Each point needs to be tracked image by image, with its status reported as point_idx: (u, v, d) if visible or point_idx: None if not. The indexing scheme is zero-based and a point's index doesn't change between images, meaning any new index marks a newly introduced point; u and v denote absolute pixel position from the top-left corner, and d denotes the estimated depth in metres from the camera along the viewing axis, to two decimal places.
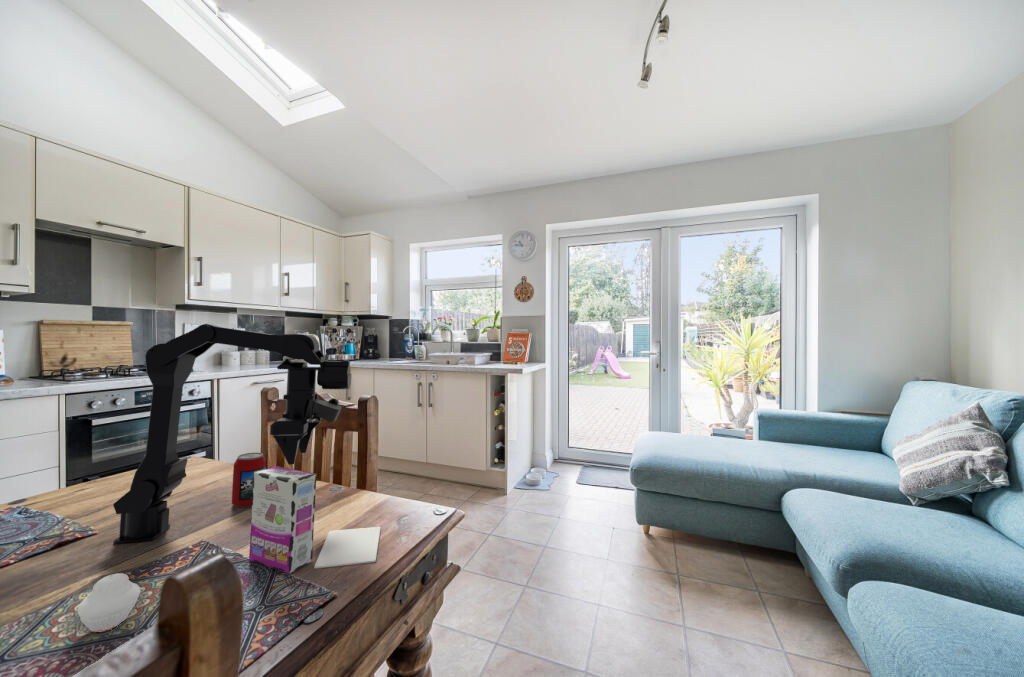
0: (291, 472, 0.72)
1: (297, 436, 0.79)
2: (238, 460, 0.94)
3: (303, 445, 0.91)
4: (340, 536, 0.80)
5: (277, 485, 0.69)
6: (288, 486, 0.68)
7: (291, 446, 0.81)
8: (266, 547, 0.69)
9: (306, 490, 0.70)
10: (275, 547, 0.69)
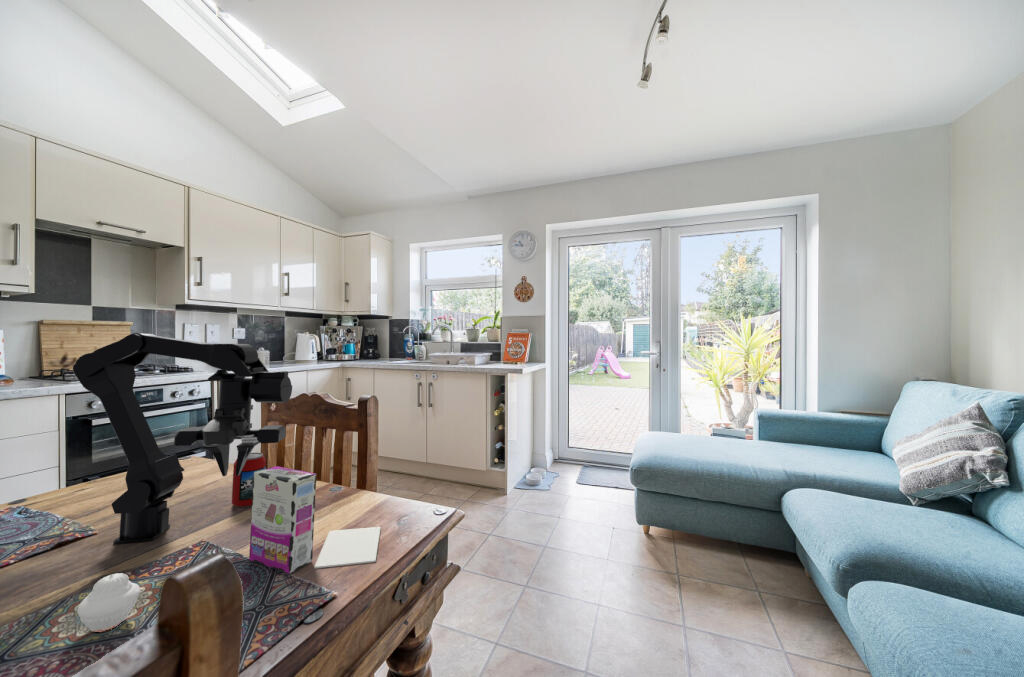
0: (291, 472, 0.72)
1: None
2: None
3: None
4: (340, 536, 0.80)
5: (277, 485, 0.69)
6: (288, 486, 0.68)
7: None
8: (266, 547, 0.69)
9: (306, 490, 0.70)
10: (275, 547, 0.69)
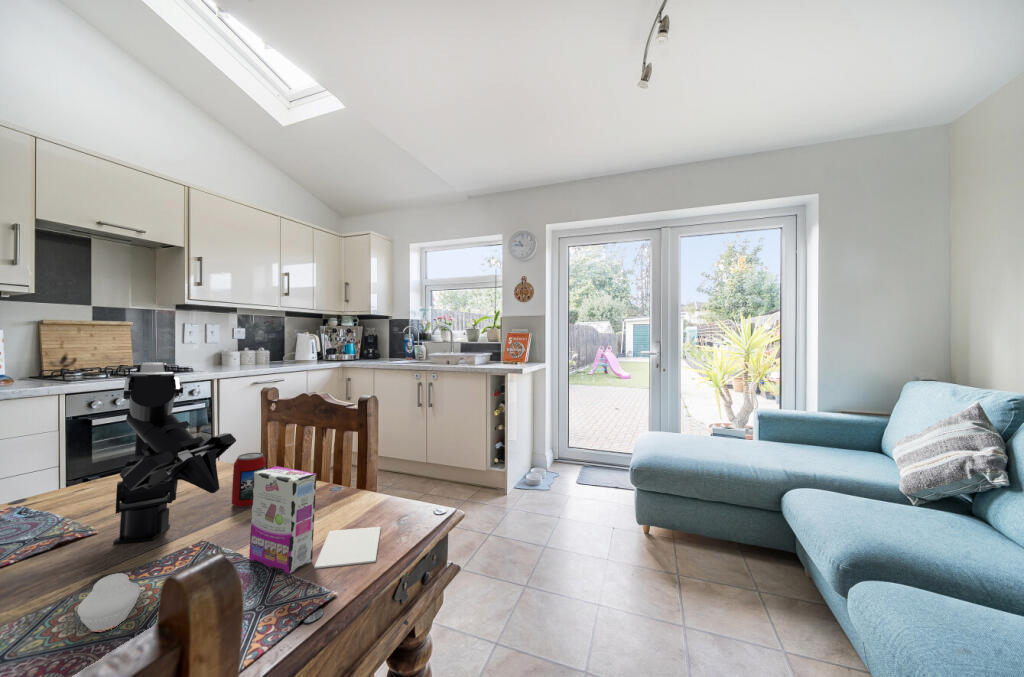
0: (291, 472, 0.72)
1: None
2: (238, 460, 0.94)
3: None
4: (340, 536, 0.80)
5: (277, 485, 0.69)
6: (288, 486, 0.68)
7: None
8: (266, 547, 0.69)
9: (306, 490, 0.70)
10: (275, 547, 0.69)
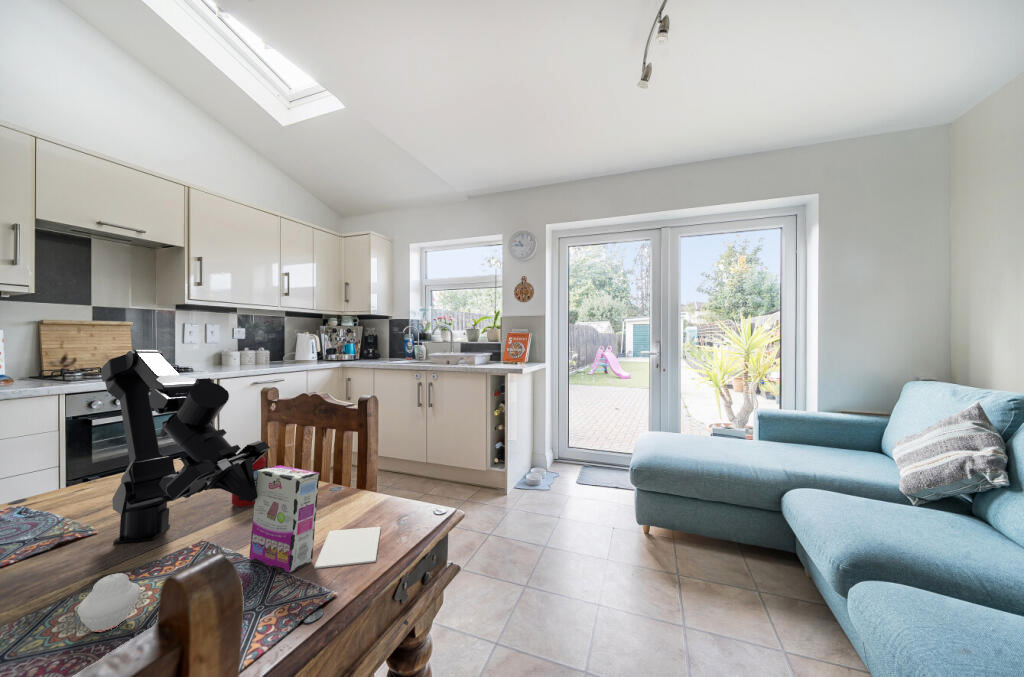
0: (294, 471, 0.72)
1: None
2: None
3: None
4: (340, 536, 0.80)
5: (280, 483, 0.70)
6: (291, 484, 0.69)
7: None
8: (267, 546, 0.69)
9: (309, 488, 0.70)
10: (275, 545, 0.69)
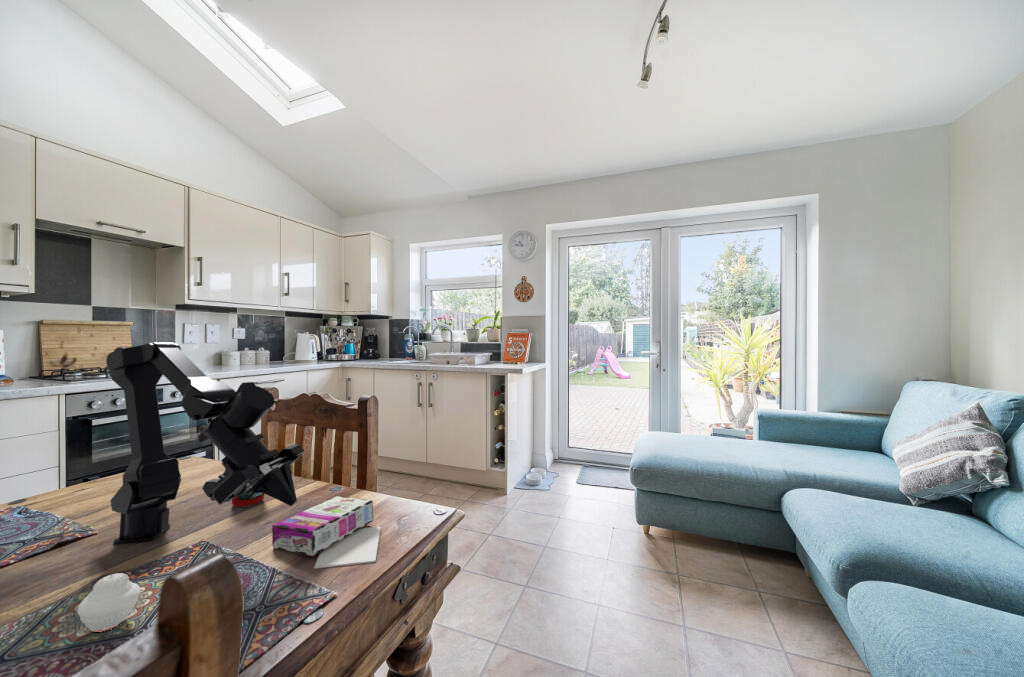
0: None
1: None
2: None
3: None
4: None
5: (354, 500, 0.87)
6: (364, 501, 0.86)
7: None
8: (303, 520, 0.77)
9: (365, 515, 0.84)
10: (313, 520, 0.77)
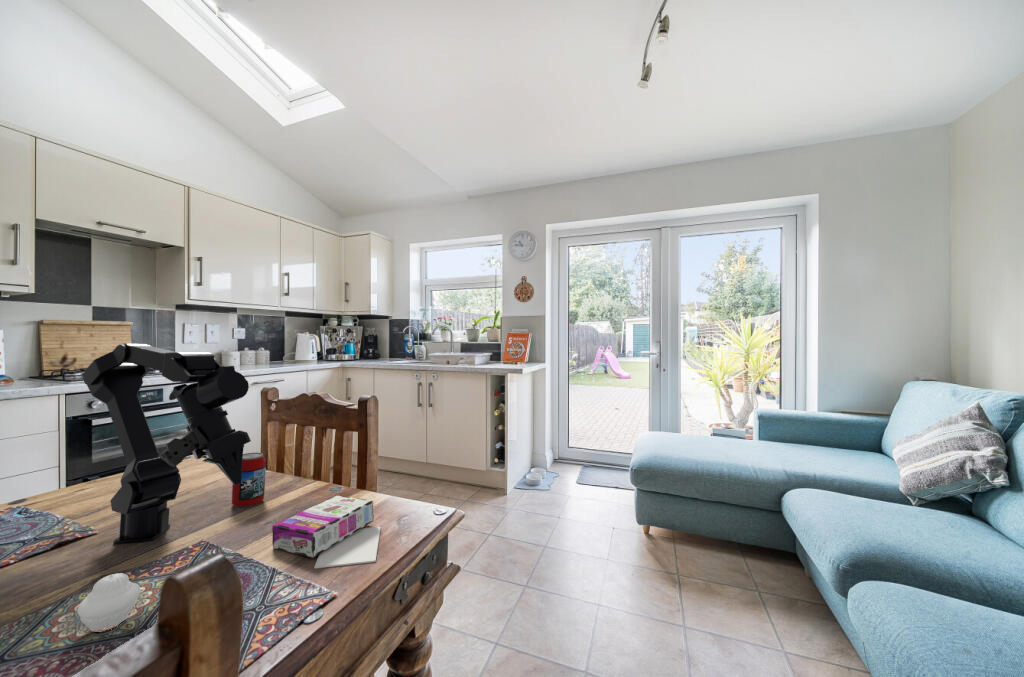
0: None
1: None
2: None
3: None
4: None
5: (354, 500, 0.87)
6: (364, 501, 0.86)
7: None
8: (304, 520, 0.77)
9: (366, 516, 0.84)
10: (314, 521, 0.76)
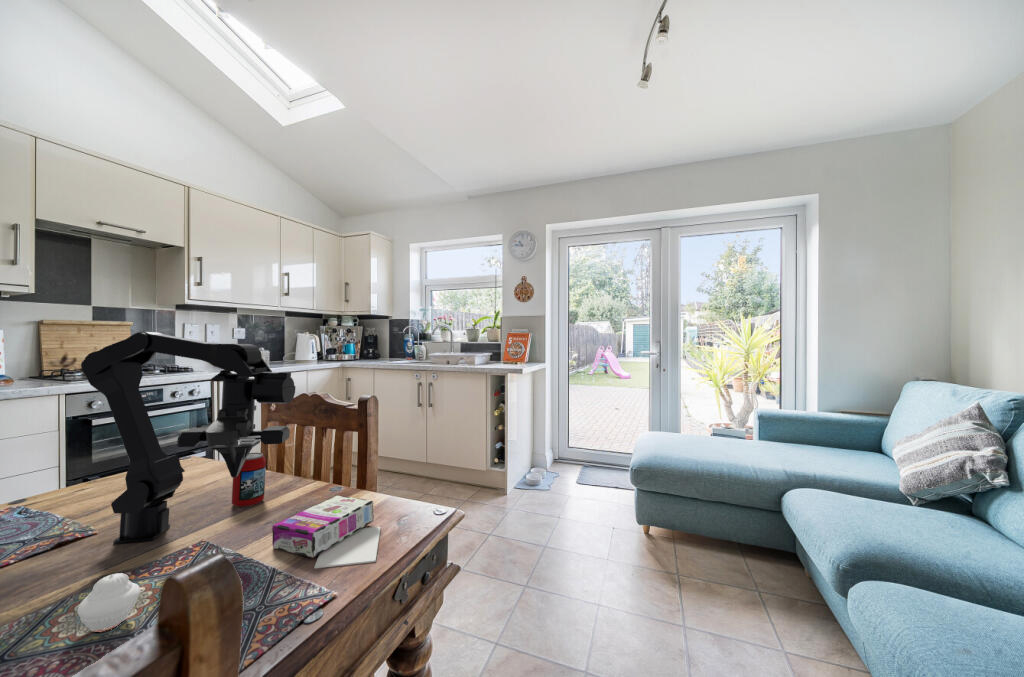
0: None
1: None
2: None
3: None
4: None
5: (354, 500, 0.87)
6: (364, 501, 0.86)
7: None
8: (304, 520, 0.77)
9: (366, 516, 0.84)
10: (314, 521, 0.76)
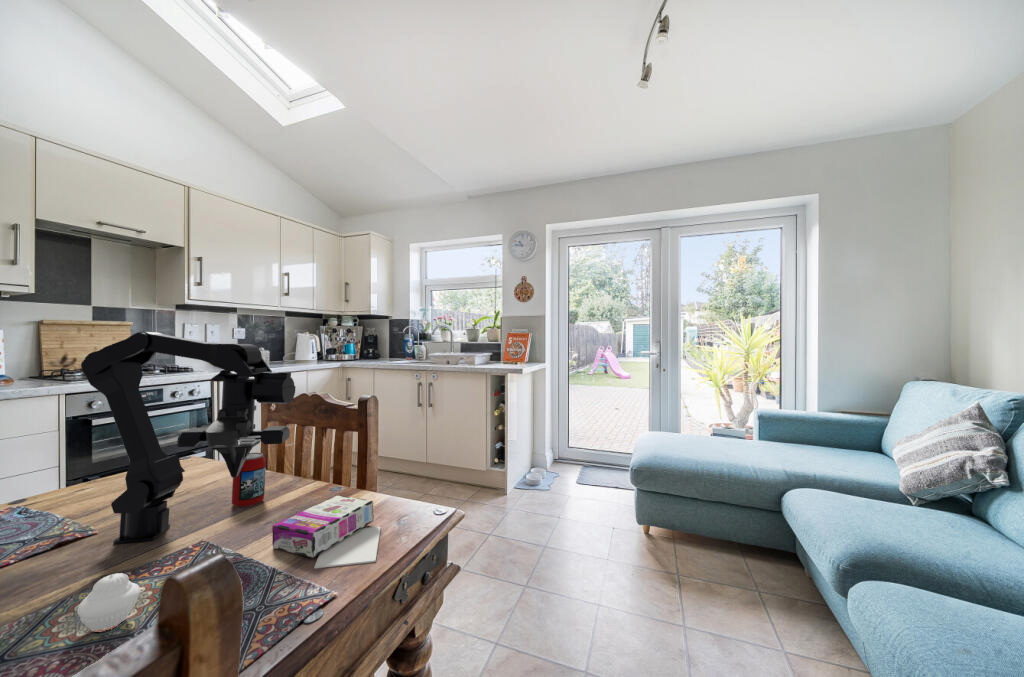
0: None
1: None
2: None
3: None
4: None
5: (354, 500, 0.87)
6: (364, 501, 0.86)
7: None
8: (304, 520, 0.77)
9: (366, 516, 0.84)
10: (314, 521, 0.76)
